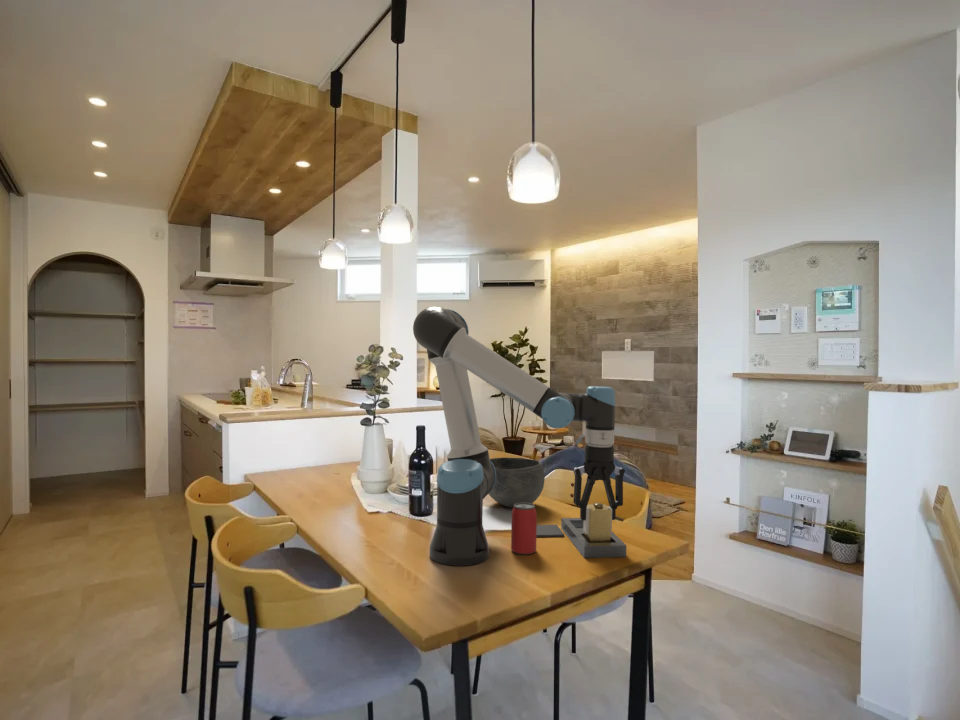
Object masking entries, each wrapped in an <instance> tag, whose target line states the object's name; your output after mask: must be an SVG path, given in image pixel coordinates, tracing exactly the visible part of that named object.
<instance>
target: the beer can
mask: <svg viewBox="0 0 960 720" xmlns="http://www.w3.org/2000/svg"><path fill="white" fill-rule="evenodd" d="M537 516H538V515H537V510H536V505H535V504H533V503H532V504H531V503H516V504H514V508H512V511H511V527H510V528H511V534H510V535H511V536H510V537H511V541H510V542H511V543H510V550H511V551H512V552H513V553H515V554H518V555H523V556H524V555H525V556H526V555H532V554H534V553H535V552H536V551H537V537H536V529H537V525H538V524H537V521H538V519H537Z"/></svg>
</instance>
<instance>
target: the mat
mask: <svg viewBox="0 0 960 720" xmlns="http://www.w3.org/2000/svg"><path fill="white" fill-rule="evenodd" d="M560 528H561V527H559V526H558V525H557V524H537V529H536V538H556V537H557V538H562V537H565V533H564V531H563V530H562V529H560Z"/></svg>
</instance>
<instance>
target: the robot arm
mask: <svg viewBox="0 0 960 720" xmlns="http://www.w3.org/2000/svg"><path fill="white" fill-rule="evenodd" d="M412 330H413V331H412V332H413V335H414V338H415V340H416V342H417V343H418V345H420V346H421V347H423V348H424V349H426V354H427V358H428V359H427V360H428V361H429V362H431V364H432V365H434V366H435V371H436V377H437V382H438V387H439V393H440V397H441V398H440V399H441V402H442V408H443V414H444V418H445V424H446V430H447V434H448V439H449V440H448V441H449V445H450V450H449V453H448V454H447V456H446V457H447V461H444V462H442V463H441V464H440V466H439V467H438V468H437V475H436V487H437V488H436V489H437V491H436V495H437V496H436V498H437V499H436V527H435V530H434V533H433V536H432V539H431V541H430V544H429V557H430V558H431V560H432V561H434V562H436V563H439V564H441V565H446V566H454V567H455V566H457V567H461V566H462V567H463V566H466V567H467V566H472V565H476V564H479V563H483V562H485V561H486V560H487V559H488V558H489V556H490V545H489V543H488V539H487V536H486V532H485V529H484V526H483V515H484V514H483V512H484V511H483V510H484V509H483V505H484V502H483V501H484V499H485V498H486V497H487V496H488V495H489V493H490V492H491V490H492V488H493V487H494V484H495V480H496V470H495V467H494V465H493V463H492V462H491V461H490V459H491V458H490V454H489V447H487V446H485V445H484V444H482V440H481V436H480V431H479V425H478V421H477V414H476V410H475V405H474V400H473V394H472V389H471V384H470V383H471V382H470V378H469V372H470V373H472V374H473V375H475V376H476V377H478V378H480V379H481V380H482V381H484V382H486V383H487V384H489V386H492V387H493V388H495V389H496V390H498V391H500V392H501V393H502V394H504V395H506V396H507V397H509V398H511V400H513V401H515V402H517V403H518V404H520V406H521V405H522V406H523V407H524V408H525V409H527V410H529V411H530V412H532V413H534V414H535V415H536V416H537V417H539V418H540V419H542V420H543V422H544V423H545V424H546V425H547V426H548V427H550V428H553V429H562V428H565V427H567V426H569V425H570V424H571V423H572V422H583V423H584V422H585V437H584V438H585V439H584V440H585V443H586V445H585V446H584V462H583V464H582V466H579V467H577V466H574V467H573V468H572V470H573V474H574V484H573V486H574V487H573V500H572V501H573V502H572V503H573V504H574V505H575V506H576V507H579V508H580V509H579V511H580V512H579V513H580V514H579V518H581V520H584V522H583V531H584V532H585V533H586V534H589V512H590V509H589V508H588V507H587V505H588V504H589V501H590V498H591V494H592V491H593V487H594V485H595V484H596V481H602V482H603V486H604V490H605V494H606V497H607V501H608V505H609V506H608V505H606V506H607V507H609V508H610V509H611V534H612V532H613V530H612V528H613V521H616V515H617V514H616V513H617V511H616V510H618V507H622V506H623V505H624V475H625V472H626V470H625V469H624V468H622V467H621V466H619V467H618V466H616V464H615V462H614V460H615V459H614V458H615V447H614V446H613V445H614V444H615V426H616V425H615V423H616V391H615V389H614V388H613V387H611V386H600V385H598V386H597V385H593V386H592V385H591V386H588V387H587V388H586V390H585V393H584V392H582V393H573V392H572V393H571V392H557V390H555V389H552V388H551V387H549V386H548V385H546V384H545V383H543V382H542V381H540V380H539V379H537V378H535V377H534V376H532V375H531V374H530V373H528V372H526V371H525V370H523V369H521V367H518V366H517V365H515V363H512V362H511V361H510V360H508V359H506V358H505V357H503V356H501V355H500V354H498V353H497V352H495V351H494V350H492V349H490V348H489V347H487V346H486V345H484V344H483V343H481V342H480V341H478V340H476V339H475V338H473V337H472V336H470V335H469V331H470V330H469V326H468V323H467V321H466V319H465V318H464V317H463V316H462V315H461V314H459V313H458V312H456V311H455V310H452V309H448V308H444V307H439V306H430V307H426V308H424V309H422V311H420V312H419V313H418V314H417V315H416V317H415V318H414V320H413V326H412ZM584 472H585V473H586V475H587V477H586V482H585V485H584V489H583V491H582V483H583V478H582V476H583V475H584ZM613 473H614V475H615V478H614V479H615V481H614V482H615V484H614V485H615V486H614V487H615V488H614V489H615V492H613V491H614V490H613V487H612V481H611V477H610V476H611V475H612V474H613ZM582 492H583V493H582ZM614 493H615V496H614Z"/></svg>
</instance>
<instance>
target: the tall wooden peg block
mask: <svg viewBox="0 0 960 720" xmlns="http://www.w3.org/2000/svg"><path fill="white" fill-rule="evenodd" d="M607 506H608V505H606V504H605V503H602V502H601V503H600V502H594V503H591V504H590V503H588V505H587V507H588V508H589V509H590V512H589V534H586V533H585V532H584V538H585V539H586V541H587V542H588V543H610V541H611V509H610V508H609V507H610V506H609V507H607Z"/></svg>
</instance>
